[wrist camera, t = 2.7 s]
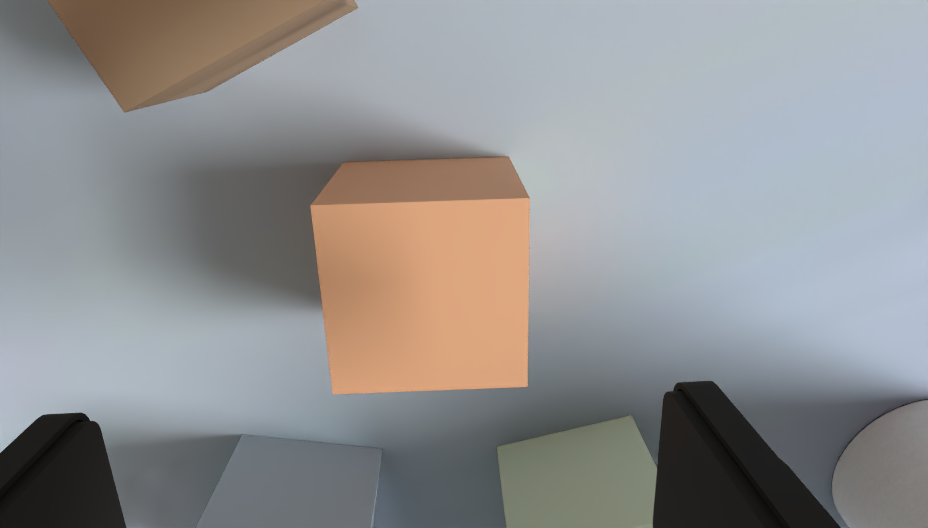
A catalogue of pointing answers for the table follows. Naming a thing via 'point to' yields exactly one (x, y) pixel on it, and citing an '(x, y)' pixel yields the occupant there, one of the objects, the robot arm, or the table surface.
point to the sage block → (579, 478)
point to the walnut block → (186, 40)
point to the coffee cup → (886, 472)
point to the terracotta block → (424, 275)
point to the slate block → (295, 486)
